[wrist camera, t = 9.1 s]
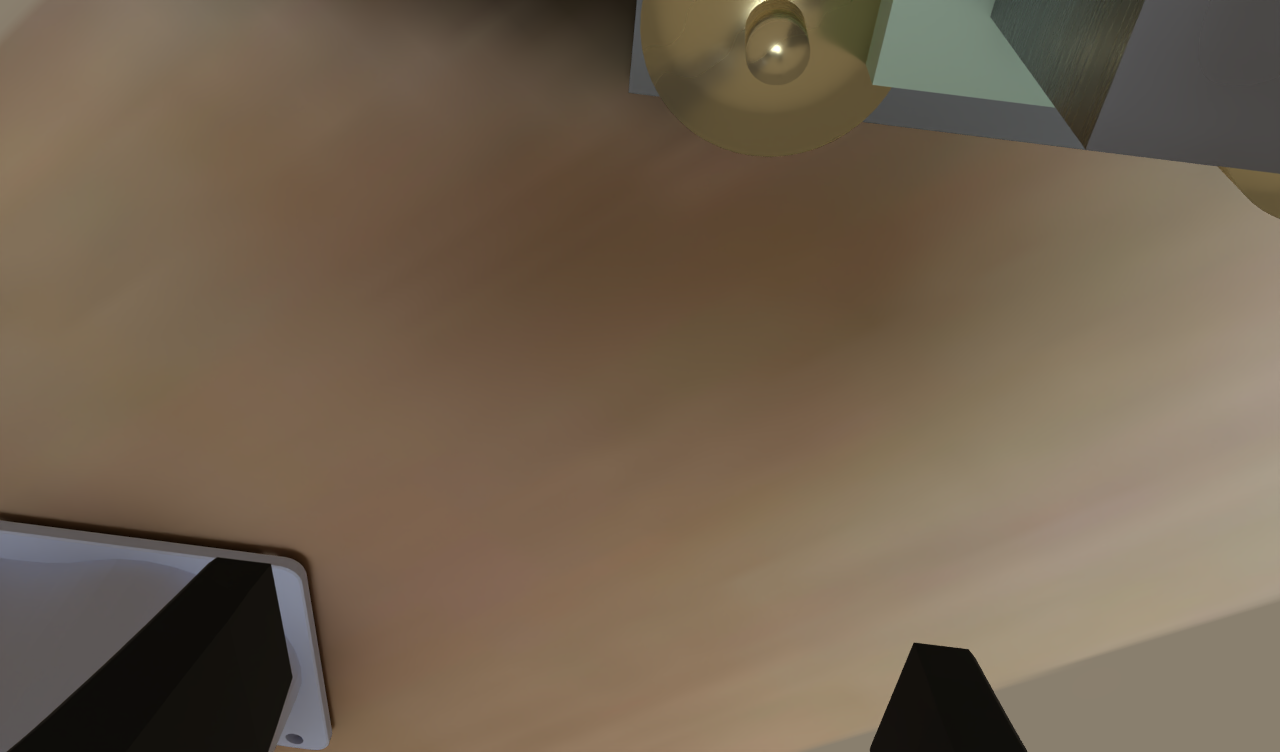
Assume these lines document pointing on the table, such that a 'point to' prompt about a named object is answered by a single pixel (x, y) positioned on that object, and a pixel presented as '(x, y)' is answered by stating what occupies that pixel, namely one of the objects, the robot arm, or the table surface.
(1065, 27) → the green plate with block
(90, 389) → the table surface
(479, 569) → the table surface
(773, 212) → the table surface
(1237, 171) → the chassis
